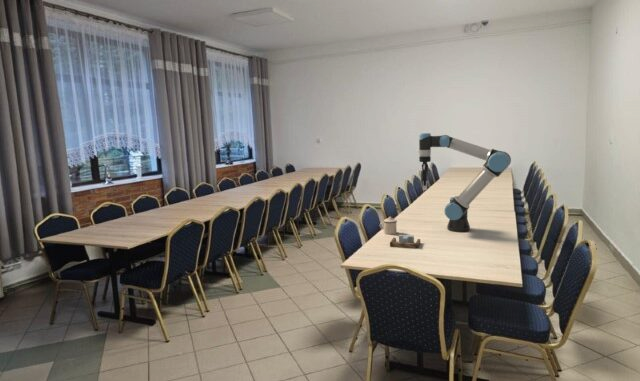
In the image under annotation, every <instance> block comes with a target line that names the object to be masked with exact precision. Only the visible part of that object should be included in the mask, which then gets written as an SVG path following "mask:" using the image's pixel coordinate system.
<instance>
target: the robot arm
mask: <svg viewBox="0 0 640 381" xmlns="http://www.w3.org/2000/svg"><path fill="white" fill-rule="evenodd" d="M418 137H419V139H418V141H419V142H418V143H419V144H418V145H419V146H418V147H419V149H418V150H419V151H418V154H419V157H418V159H419V160H418V161H419V163H422V164H421V170H422V179H421V181H422V191H428V181H429V179H428V169H429V164H428V163H430V162H431V161H432V158H431V156H432V153H431V152H432V151H431V150H432V149H431V148H448V149H452V150H454V151H457V152H460V153H463V154H465V155H469V156H471V157H475V158H478V159H480V160H483V161H485V163H484V164H483V165H482V166H483V169H482V170H480V171H479V173H478V174H477V175H476V176H475V177H474V178H473V180H471V182H469V184H468V185H467V186H466V187H465V188H464V190H463V191H461V193H460V194H459V195H457V196H456V195H455V196H451V197H450V199H449V202H448V203H447V204H446V205H445V207H444V216H445V217H446V218H447V219H448V223H447V226H446V228H447V230H448V231H450V232H454V233H455V232H457V233H458V232H459V233H463V232H464V233H465V232H469V231H470V230H471V226H470V225H471V224H470V223H469V220H468V212H469V209H470V204H471V203H472V202H473V201H474V200H475V199H476V198H477V197H478V196H479V194H481V193H482V191H483V190H484V189H486V187H487V186H488V185H489V184H490V183H491V181H493V180H494V178H498V177H500V176H501V175H502V173H504V171H506V170H507V168H508V167H509V166H510V164H511V162H512V157H511V156H510V154H509V153H507V152H506V151H502V150H498V149H494V148H491V149H489V148H486V147H483V146H479V145H476V144H473V143H471V142H468V141H464V140H462V139H459V138H455V137H453V136H452V137H451V136H449V135H447V134H443V135H432V133H430V132H427V133H425V132H424V133H423V132H421V133H420V134H419V136H418Z"/></svg>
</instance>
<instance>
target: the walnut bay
mask: <svg viewBox="0 0 640 381" xmlns="http://www.w3.org/2000/svg"><path fill="white" fill-rule="evenodd" d="M420 245H421V238H418V239H417V240H416V242H414V243H402V242H399V241H397V237H393V238H392V239H391V240H390V242H389V247H390V248H392V247H393V248H405V249H406V248H407V249H419V248H420Z"/></svg>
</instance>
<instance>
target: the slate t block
mask: <svg viewBox="0 0 640 381" xmlns="http://www.w3.org/2000/svg"><path fill="white" fill-rule="evenodd" d="M398 242H402V243H415V236H414V235H409V234H399V235H398Z"/></svg>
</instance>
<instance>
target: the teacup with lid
mask: <svg viewBox="0 0 640 381" xmlns="http://www.w3.org/2000/svg"><path fill="white" fill-rule="evenodd" d="M397 222H398V221H397V220H396V219H395V218H393V217H392V216H388V218H387V217H386V218H385V219H384V220H383V222H380V223H379V227H380V229H381V230H383V233H384V234H385V235H396V234H397ZM382 224H383V227H382Z"/></svg>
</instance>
